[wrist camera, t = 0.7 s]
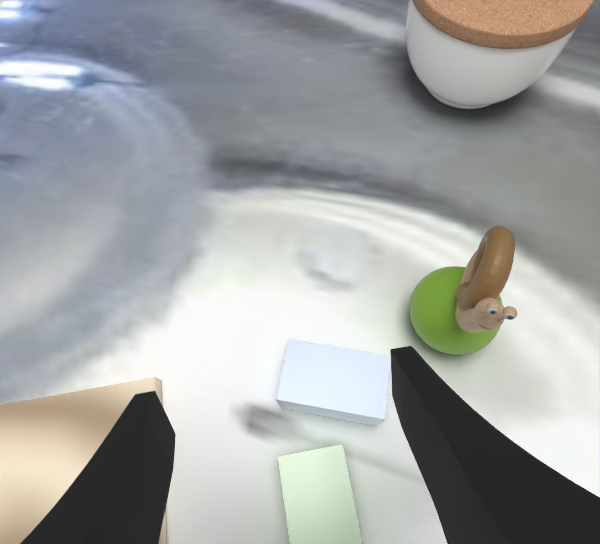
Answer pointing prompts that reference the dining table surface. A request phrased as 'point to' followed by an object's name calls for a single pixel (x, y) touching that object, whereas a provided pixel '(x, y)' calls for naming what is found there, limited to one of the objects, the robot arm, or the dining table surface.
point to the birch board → (54, 449)
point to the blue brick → (334, 382)
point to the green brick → (319, 497)
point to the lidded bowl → (487, 45)
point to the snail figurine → (466, 298)
